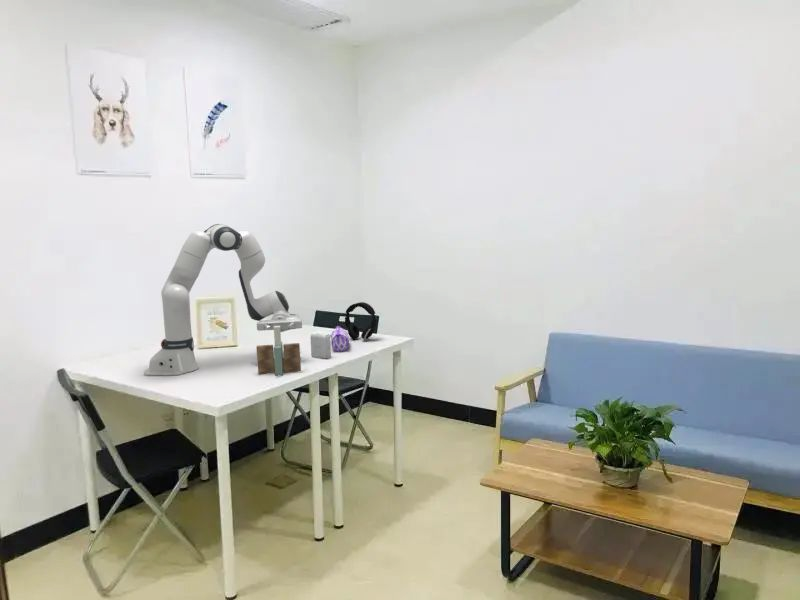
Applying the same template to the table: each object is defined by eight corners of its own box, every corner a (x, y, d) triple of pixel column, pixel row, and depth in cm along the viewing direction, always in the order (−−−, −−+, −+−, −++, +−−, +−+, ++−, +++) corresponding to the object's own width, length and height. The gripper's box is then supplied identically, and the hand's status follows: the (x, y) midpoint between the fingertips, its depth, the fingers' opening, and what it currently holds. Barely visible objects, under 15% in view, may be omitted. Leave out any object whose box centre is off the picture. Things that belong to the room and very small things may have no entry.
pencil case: (330, 343, 321) (329, 325, 320) (348, 342, 322) (347, 324, 321) (331, 353, 299) (330, 334, 298) (350, 352, 301) (350, 333, 299)
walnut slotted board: (258, 374, 265) (256, 346, 263) (258, 372, 267) (256, 345, 265) (300, 371, 267) (299, 344, 265) (300, 370, 269) (299, 343, 268)
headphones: (343, 340, 328) (341, 303, 325) (351, 337, 334) (349, 301, 331) (371, 343, 319) (370, 304, 316) (379, 340, 326) (378, 302, 323)
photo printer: (332, 357, 291) (331, 331, 289) (326, 359, 287) (325, 333, 285) (316, 355, 296) (314, 329, 295) (309, 357, 293) (308, 331, 291)
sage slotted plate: (275, 375, 261) (272, 329, 258) (277, 368, 273) (274, 324, 270) (282, 375, 261) (279, 328, 258) (283, 368, 273) (281, 323, 270)
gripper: (257, 316, 286) (254, 322, 272) (302, 314, 289) (301, 319, 275) (258, 330, 287) (255, 336, 273) (302, 327, 289) (302, 333, 276)
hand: (278, 327), depth 274 cm, fingers open, 8 cm apart
